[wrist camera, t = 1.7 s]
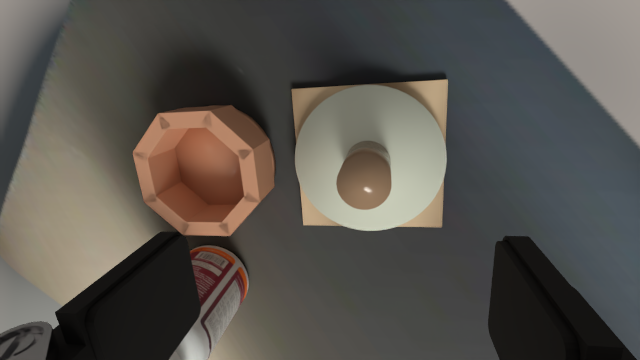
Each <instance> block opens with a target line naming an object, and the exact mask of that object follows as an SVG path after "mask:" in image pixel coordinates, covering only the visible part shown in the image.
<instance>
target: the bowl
mask: <svg viewBox="0 0 640 360" xmlns="http://www.w3.org/2000/svg"><path fill="white" fill-rule="evenodd" d="M133 157H134V161H135V165H136V169H137V174H138V178H139V182H140V187H141V191H142V195H143V199H144V202H145V203H146V204H147V205H148V206H149V207H151V208H152V209H153V210H154V211H155V212H157V213H158V214H159V215H160V216H161V217H162V218H164V219H165V220H166V221H167V222H168V223H170V224H171V225H172V226H173V227H174V228H175V229H177V230H178V231H179V232H180V233H181V234H183V235H206V236H230V235H231V234H232V233H233V232H234V231H235V230H236V229H237V228H238V227H239V225H240V224H241V223H242V222H243V221H244V220H245V219H246V218H247V217H248V215H249V214H250V213H251V212H252V211H253V210H254V209H255V208H256V207H257V205H258V204H259V203H260V202H261V201H262V200H263V199H264V198H265V196H266V195H267V194H268V193H269V192H270V191H271V190H272V189H273V188H274V187H275V185H274V177H275V170H276V162H275V155H274V151H273V148H272V145H271V143H270V140H269V138H268V137H267V135H266V133H265V132H264V130H263V129H262V128H261V127H260V125H259V124H258V123H257V122H256V121H255V120H253V119H252V118H251V117H250V116H248V115H247V114H245V113H243V112H242V111H239V110H237V109H235V108H234V107H233V106H232V105H224V106H222V105H211V106H205V107H187V108H181V109H176V110H171V111H167V112H162V113H158V114H157V116H156V118H155V119H154V121H153V122H152V124H151V125H150V127H149V128H148V130H147V131H146V133H145V134H144V136H143V138H142V139H141V141H140V142H139V144H138V145H137V147H136V148H135V150H134V151H133Z"/></svg>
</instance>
